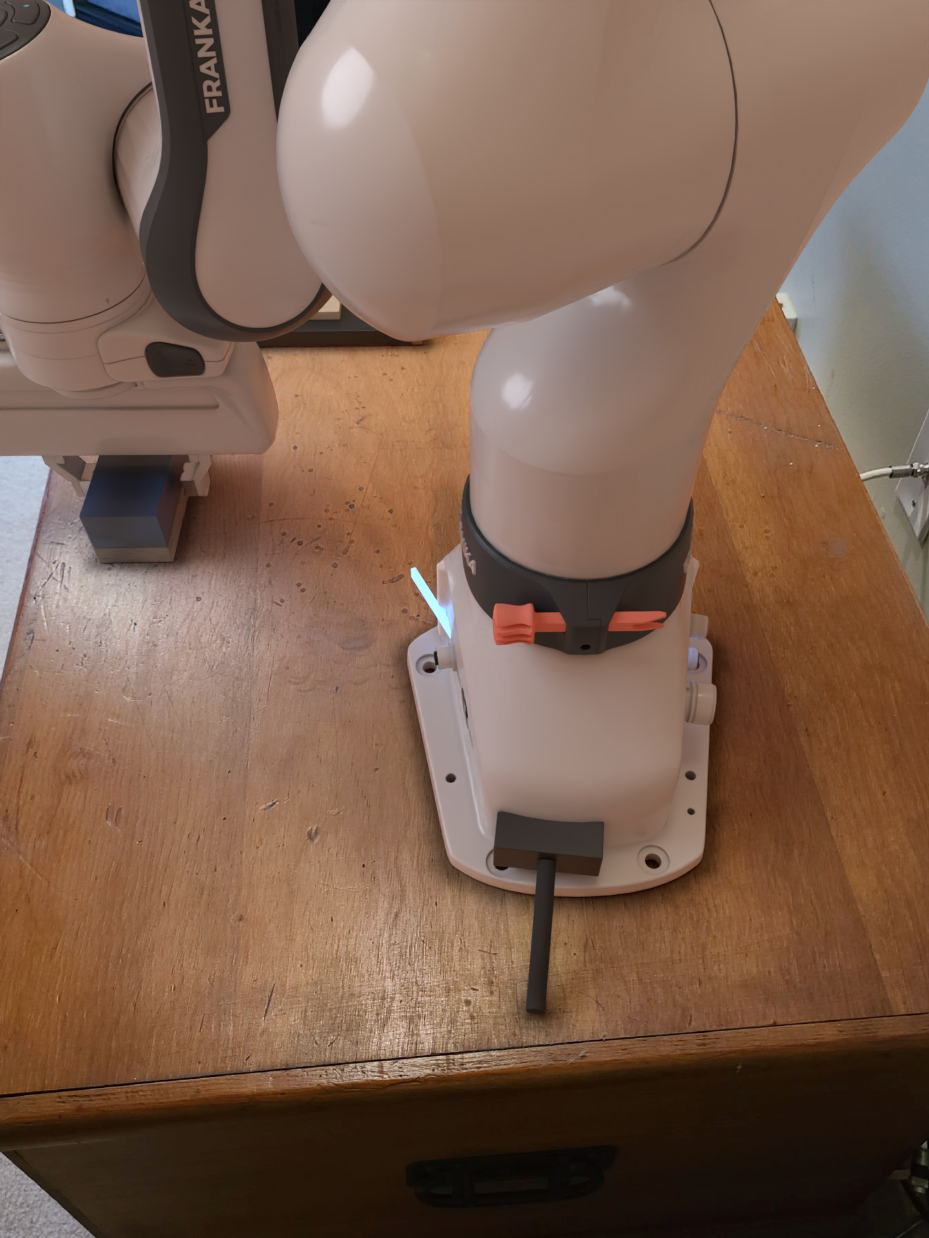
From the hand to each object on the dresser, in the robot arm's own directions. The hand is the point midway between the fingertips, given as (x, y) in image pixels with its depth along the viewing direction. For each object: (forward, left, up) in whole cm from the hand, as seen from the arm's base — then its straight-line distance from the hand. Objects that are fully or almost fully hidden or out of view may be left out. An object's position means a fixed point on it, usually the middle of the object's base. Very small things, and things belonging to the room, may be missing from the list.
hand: (145, 490), depth 69 cm
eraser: (0, 0, -2) cm, 2 cm away
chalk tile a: (+22, -10, 0) cm, 24 cm away
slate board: (+24, -8, -2) cm, 25 cm away
